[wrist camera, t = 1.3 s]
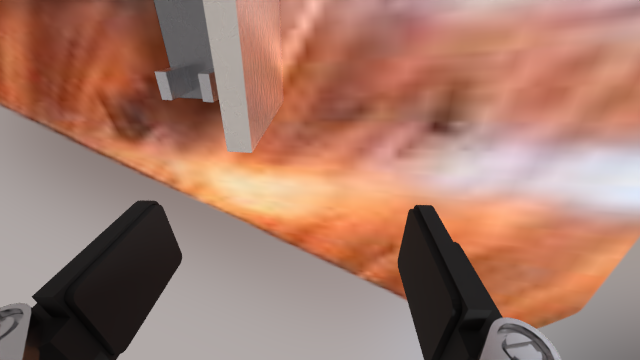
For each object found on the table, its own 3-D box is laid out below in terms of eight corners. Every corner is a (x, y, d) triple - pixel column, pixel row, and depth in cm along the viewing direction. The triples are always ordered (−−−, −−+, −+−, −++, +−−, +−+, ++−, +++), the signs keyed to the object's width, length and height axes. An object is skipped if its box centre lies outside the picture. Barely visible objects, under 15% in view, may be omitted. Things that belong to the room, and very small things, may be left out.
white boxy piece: (141, -64, 26) (-69, -162, 12) (277, -58, 26) (218, -150, 12) (180, 96, 34) (80, 143, 21) (283, 101, 34) (252, 152, 21)
